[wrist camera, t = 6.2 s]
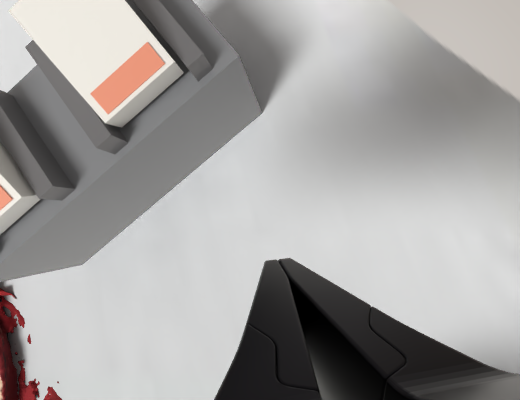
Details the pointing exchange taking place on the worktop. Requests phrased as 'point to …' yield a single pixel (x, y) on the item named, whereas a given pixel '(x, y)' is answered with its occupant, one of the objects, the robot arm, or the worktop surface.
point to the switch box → (116, 142)
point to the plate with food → (3, 370)
